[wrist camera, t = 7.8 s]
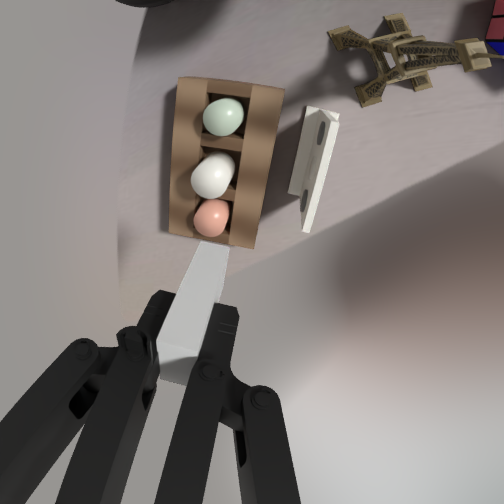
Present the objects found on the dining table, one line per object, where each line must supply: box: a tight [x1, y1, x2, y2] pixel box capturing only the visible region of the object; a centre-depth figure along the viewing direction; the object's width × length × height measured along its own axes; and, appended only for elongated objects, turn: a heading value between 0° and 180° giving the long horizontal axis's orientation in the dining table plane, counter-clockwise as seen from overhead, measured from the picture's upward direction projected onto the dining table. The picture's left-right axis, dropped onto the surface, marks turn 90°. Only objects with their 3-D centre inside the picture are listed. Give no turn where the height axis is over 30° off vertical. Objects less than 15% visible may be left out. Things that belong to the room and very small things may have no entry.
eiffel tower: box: [328, 13, 504, 107], centre depth 17 cm, size 11×11×25 cm
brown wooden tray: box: [169, 77, 285, 249], centre depth 36 cm, size 21×12×4 cm, turn 171°
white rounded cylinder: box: [191, 151, 235, 199], centre depth 33 cm, size 4×4×5 cm
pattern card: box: [288, 106, 339, 233], centre depth 32 cm, size 12×4×10 cm, turn 171°
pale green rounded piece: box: [203, 97, 246, 136], centre depth 31 cm, size 4×4×5 cm
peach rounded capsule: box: [194, 198, 232, 237], centre depth 38 cm, size 4×4×5 cm
